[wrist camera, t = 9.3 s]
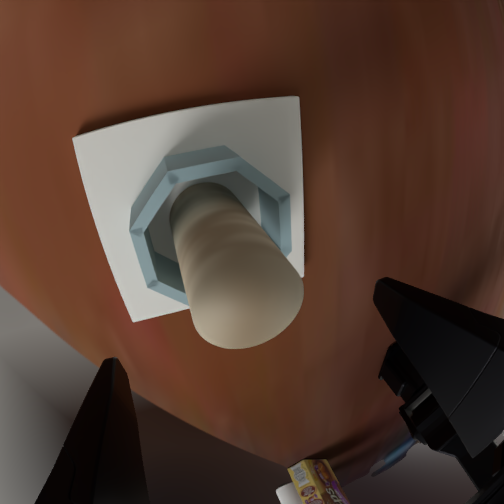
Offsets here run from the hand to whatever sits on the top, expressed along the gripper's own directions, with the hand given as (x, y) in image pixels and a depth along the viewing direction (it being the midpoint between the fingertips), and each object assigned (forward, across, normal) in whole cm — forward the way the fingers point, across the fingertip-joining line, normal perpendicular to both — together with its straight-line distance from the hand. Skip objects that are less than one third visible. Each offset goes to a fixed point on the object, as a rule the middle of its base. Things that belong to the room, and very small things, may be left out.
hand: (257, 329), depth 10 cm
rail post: (+9, 0, 0) cm, 9 cm away
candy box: (+10, -9, +52) cm, 54 cm away
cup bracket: (+10, 0, 0) cm, 10 cm away
